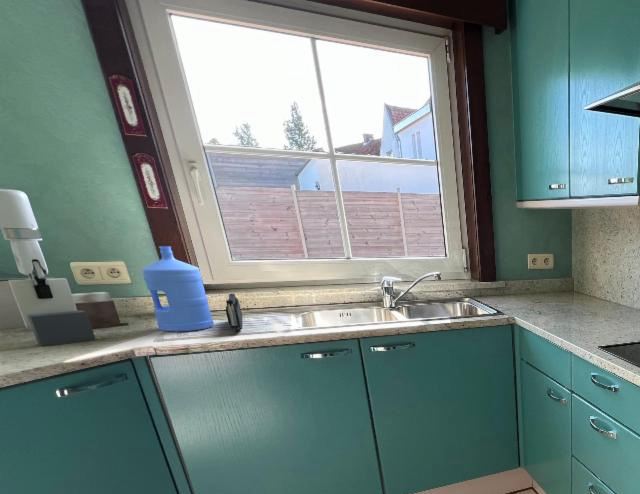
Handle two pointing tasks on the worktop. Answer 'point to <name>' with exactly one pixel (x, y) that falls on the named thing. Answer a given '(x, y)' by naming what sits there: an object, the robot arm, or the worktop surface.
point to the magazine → (234, 313)
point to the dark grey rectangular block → (61, 327)
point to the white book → (34, 305)
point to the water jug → (178, 294)
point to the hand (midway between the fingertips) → (44, 297)
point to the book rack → (98, 309)
